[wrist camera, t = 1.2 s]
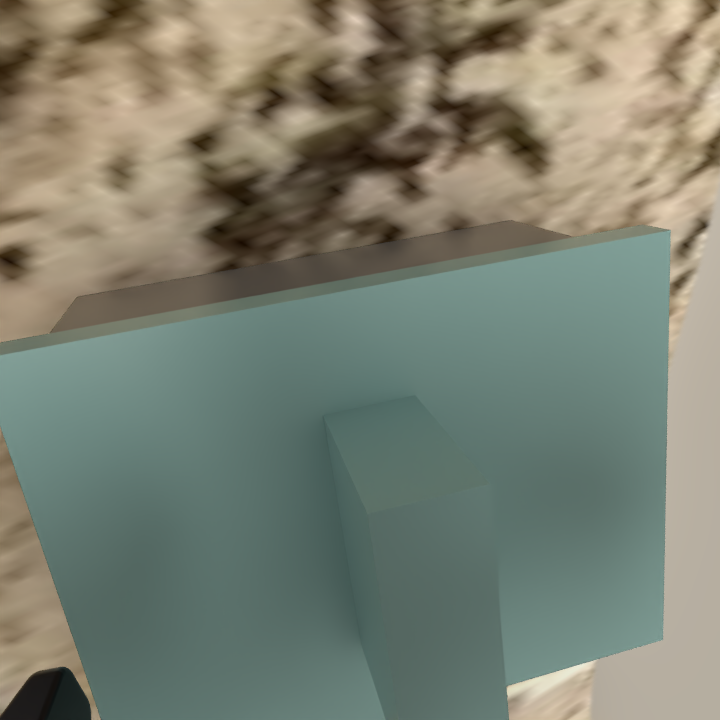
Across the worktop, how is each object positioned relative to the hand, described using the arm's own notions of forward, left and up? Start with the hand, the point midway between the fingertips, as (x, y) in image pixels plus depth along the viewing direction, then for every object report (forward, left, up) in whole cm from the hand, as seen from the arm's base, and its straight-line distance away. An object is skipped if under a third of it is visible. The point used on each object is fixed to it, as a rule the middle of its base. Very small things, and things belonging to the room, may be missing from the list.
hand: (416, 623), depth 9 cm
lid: (-2, -1, -8) cm, 8 cm away
